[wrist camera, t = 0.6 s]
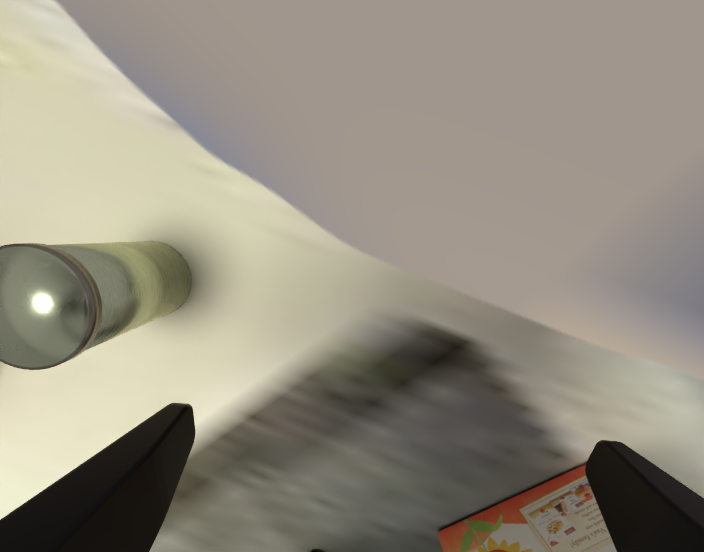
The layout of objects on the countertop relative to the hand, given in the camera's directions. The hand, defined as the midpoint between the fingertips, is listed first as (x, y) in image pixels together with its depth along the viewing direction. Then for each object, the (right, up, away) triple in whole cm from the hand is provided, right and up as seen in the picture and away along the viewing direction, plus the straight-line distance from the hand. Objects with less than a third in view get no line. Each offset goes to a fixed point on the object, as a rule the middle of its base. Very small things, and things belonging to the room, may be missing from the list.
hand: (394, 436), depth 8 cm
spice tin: (-14, +3, +15) cm, 21 cm away
